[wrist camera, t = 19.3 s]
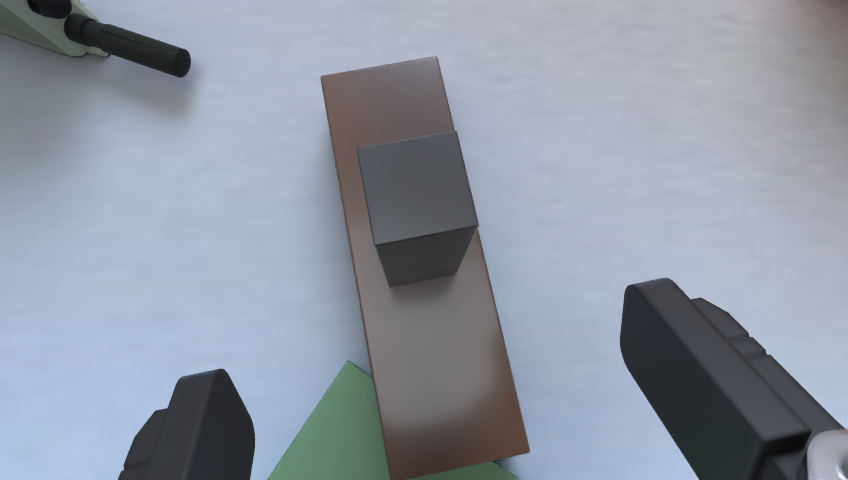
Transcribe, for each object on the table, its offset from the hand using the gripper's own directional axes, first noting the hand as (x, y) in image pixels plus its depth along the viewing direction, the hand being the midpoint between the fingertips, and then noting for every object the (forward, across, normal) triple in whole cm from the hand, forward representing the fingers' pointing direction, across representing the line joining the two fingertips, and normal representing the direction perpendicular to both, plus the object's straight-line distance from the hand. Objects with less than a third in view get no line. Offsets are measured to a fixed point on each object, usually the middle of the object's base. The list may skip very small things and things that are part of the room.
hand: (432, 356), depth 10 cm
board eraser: (+11, 0, +5) cm, 12 cm away
